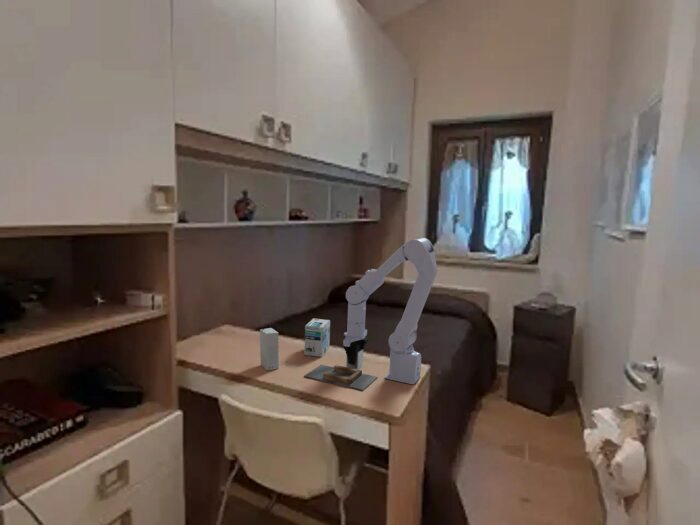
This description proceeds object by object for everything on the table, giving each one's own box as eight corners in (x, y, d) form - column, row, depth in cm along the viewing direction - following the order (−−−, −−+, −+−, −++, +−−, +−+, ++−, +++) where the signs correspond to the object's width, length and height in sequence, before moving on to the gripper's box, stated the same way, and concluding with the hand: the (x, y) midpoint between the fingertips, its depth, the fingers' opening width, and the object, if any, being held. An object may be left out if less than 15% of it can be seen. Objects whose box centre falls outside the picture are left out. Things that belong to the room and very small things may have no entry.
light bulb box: (322, 357, 157) (323, 327, 156) (303, 355, 158) (304, 325, 157) (329, 347, 167) (330, 319, 166) (312, 346, 169) (313, 317, 167)
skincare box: (279, 368, 145) (280, 332, 143) (266, 371, 143) (266, 334, 141) (271, 362, 150) (272, 327, 149) (259, 364, 148) (259, 328, 146)
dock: (377, 378, 141) (377, 372, 141) (363, 391, 131) (363, 384, 131) (321, 365, 149) (321, 360, 149) (303, 377, 139) (303, 371, 139)
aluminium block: (362, 366, 150) (363, 349, 149) (357, 370, 146) (358, 352, 146) (351, 364, 152) (352, 347, 151) (346, 368, 148) (346, 350, 147)
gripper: (354, 314, 155) (352, 353, 157) (335, 324, 142) (333, 366, 144) (373, 318, 152) (371, 356, 154) (355, 328, 139) (353, 370, 141)
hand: (354, 361), depth 149 cm, fingers open, 4 cm apart
